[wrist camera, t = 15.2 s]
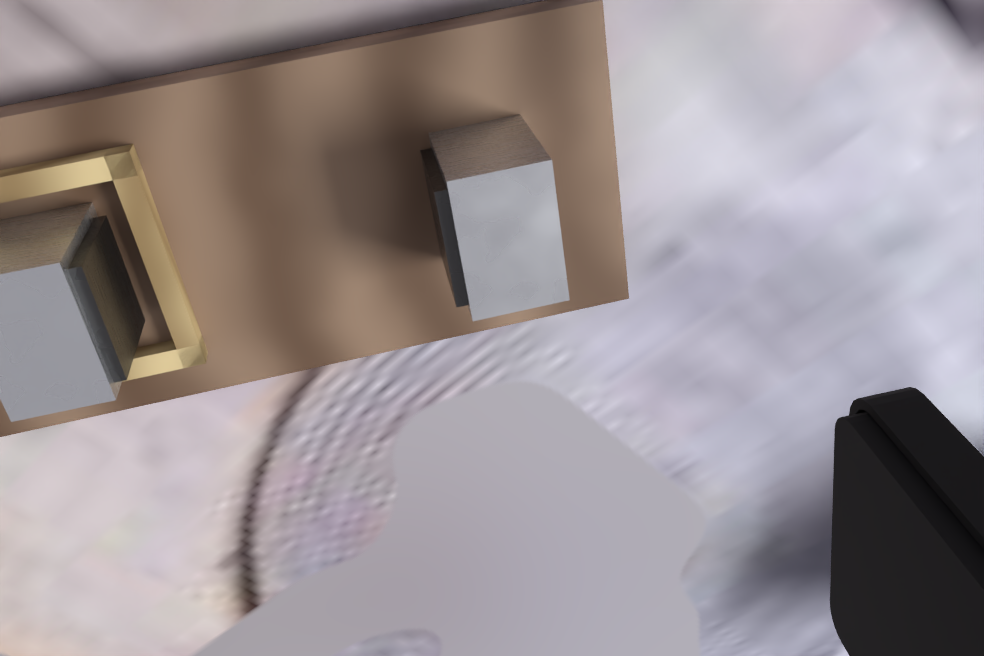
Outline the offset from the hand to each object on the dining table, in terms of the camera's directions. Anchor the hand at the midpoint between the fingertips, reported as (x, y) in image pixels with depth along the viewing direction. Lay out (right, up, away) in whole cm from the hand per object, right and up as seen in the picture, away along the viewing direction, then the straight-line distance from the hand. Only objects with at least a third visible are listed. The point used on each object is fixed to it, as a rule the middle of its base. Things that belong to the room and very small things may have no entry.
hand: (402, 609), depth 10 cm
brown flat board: (-8, +8, +33) cm, 35 cm away
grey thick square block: (-17, +5, +31) cm, 35 cm away
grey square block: (0, +9, +32) cm, 33 cm away
